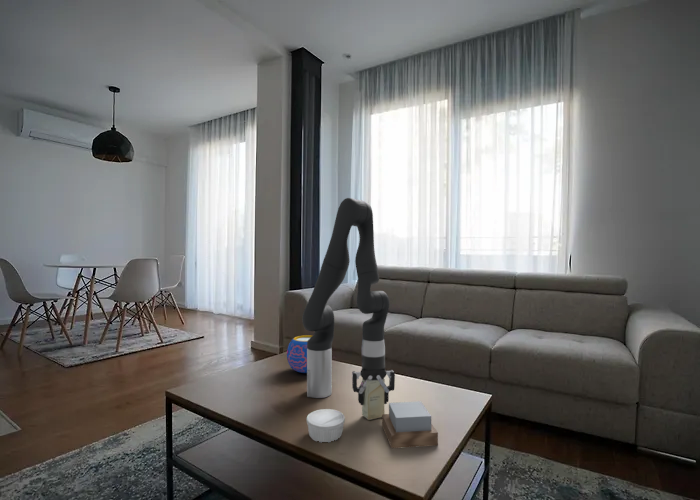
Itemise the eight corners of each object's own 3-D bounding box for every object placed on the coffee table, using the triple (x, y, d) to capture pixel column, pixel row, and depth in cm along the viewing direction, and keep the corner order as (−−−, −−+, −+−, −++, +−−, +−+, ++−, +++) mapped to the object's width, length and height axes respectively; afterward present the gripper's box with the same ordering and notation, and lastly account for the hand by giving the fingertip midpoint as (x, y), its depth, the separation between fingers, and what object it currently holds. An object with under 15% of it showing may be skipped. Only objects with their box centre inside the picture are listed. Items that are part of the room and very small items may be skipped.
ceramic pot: (333, 368, 167) (333, 335, 167) (313, 380, 150) (313, 344, 150) (300, 363, 174) (300, 332, 174) (278, 375, 158) (278, 340, 158)
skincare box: (368, 420, 114) (368, 382, 114) (361, 415, 118) (361, 377, 118) (385, 416, 117) (385, 378, 117) (378, 411, 121) (378, 374, 121)
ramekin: (340, 447, 100) (340, 427, 100) (301, 443, 101) (301, 424, 101) (347, 427, 111) (347, 410, 111) (312, 424, 112) (312, 407, 113)
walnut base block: (391, 450, 99) (391, 435, 99) (382, 427, 112) (382, 414, 112) (437, 447, 100) (437, 432, 100) (423, 424, 113) (423, 411, 113)
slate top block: (396, 432, 100) (396, 417, 100) (389, 415, 110) (388, 402, 110) (431, 430, 101) (431, 416, 101) (421, 414, 111) (421, 401, 111)
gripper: (352, 356, 113) (352, 409, 113) (397, 355, 115) (397, 407, 115) (350, 350, 121) (350, 400, 121) (392, 349, 122) (392, 398, 122)
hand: (373, 403), depth 118 cm, fingers closed on skincare box, 7 cm apart
